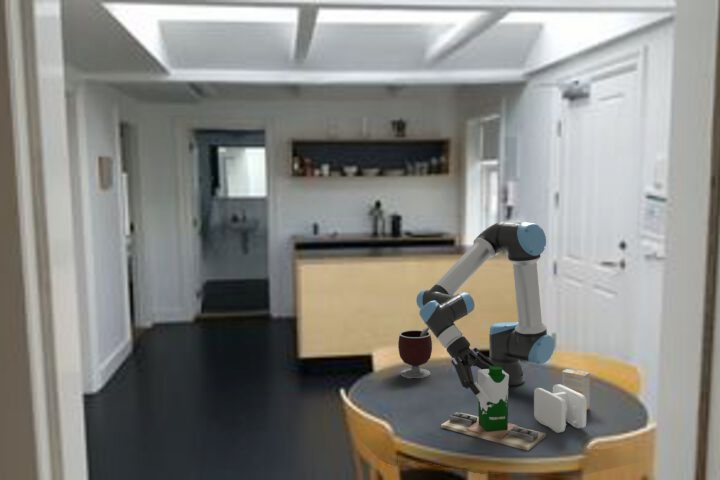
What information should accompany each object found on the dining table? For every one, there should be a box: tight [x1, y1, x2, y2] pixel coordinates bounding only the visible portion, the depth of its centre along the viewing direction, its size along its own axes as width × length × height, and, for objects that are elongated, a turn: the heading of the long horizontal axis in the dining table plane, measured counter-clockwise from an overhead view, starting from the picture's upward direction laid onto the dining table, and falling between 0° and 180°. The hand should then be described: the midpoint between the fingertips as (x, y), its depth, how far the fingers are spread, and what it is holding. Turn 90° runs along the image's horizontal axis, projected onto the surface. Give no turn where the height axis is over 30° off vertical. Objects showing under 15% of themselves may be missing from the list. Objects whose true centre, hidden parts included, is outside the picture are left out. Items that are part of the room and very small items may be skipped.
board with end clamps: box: [440, 411, 546, 452], centre depth 202 cm, size 30×13×3 cm, turn 51°
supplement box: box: [561, 368, 591, 412], centre depth 220 cm, size 8×5×13 cm, turn 45°
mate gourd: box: [397, 326, 433, 379], centre depth 262 cm, size 16×14×20 cm
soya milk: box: [477, 366, 509, 432], centre depth 201 cm, size 9×9×20 cm
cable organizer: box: [533, 383, 587, 434], centre depth 206 cm, size 15×11×12 cm
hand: (496, 395), depth 200 cm, fingers open, 13 cm apart
